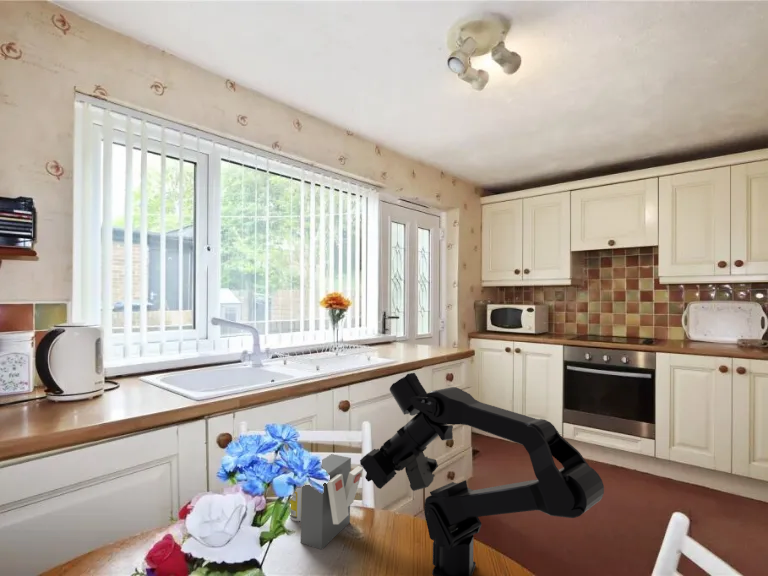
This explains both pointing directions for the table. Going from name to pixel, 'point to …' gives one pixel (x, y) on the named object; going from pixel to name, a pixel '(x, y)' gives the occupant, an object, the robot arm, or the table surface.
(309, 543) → the switch box
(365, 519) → the table surface
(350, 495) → the block
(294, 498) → the supplement bottle
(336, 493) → the block
